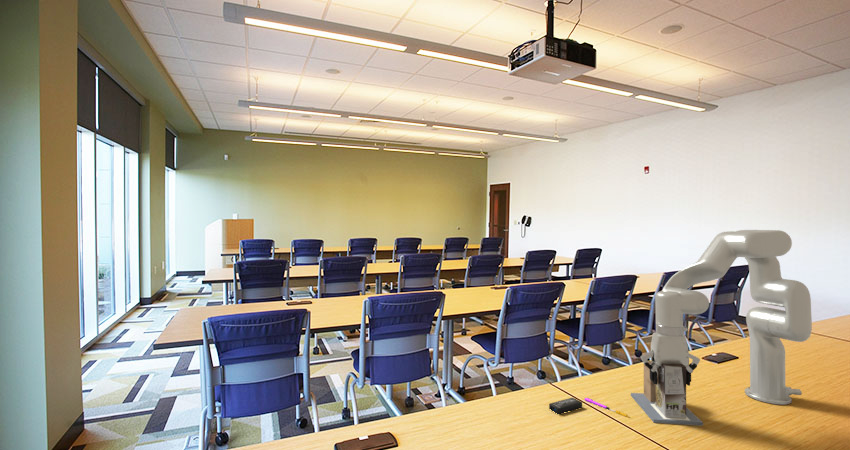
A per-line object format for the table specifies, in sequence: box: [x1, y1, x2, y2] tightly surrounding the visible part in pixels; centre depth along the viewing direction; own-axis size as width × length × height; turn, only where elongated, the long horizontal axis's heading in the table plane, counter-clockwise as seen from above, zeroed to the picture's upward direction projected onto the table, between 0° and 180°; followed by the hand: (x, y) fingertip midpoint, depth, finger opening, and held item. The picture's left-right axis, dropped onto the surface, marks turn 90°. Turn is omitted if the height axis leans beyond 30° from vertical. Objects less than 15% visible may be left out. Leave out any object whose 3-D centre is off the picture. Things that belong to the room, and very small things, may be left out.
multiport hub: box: [548, 397, 583, 415], centre depth 135 cm, size 4×11×2 cm, turn 117°
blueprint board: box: [630, 360, 704, 427], centre depth 134 cm, size 14×20×13 cm
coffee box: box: [654, 364, 687, 419], centre depth 130 cm, size 9×6×16 cm
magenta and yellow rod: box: [584, 397, 631, 419], centre depth 135 cm, size 3×1×16 cm
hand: (670, 383), depth 130 cm, fingers open, 9 cm apart
